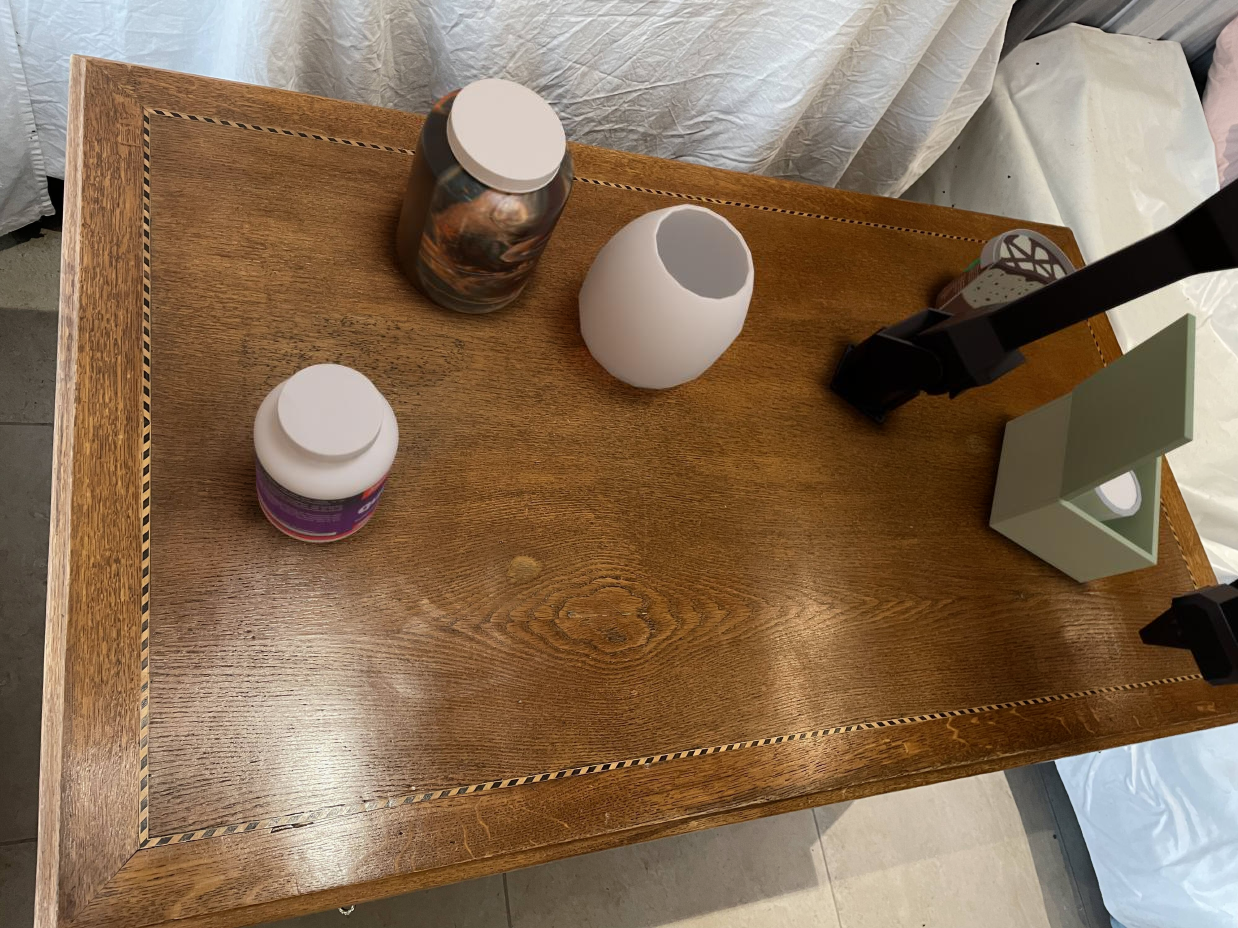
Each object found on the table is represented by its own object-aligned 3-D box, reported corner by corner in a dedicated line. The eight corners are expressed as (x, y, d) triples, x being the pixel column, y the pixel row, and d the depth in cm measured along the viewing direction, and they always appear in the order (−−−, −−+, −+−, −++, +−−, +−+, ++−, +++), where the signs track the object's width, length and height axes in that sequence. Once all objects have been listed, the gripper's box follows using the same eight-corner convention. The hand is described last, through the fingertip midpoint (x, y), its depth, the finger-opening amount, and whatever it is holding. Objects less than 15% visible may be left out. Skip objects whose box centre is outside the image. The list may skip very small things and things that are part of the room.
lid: (1196, 316, 67) (1188, 312, 67) (1193, 440, 60) (1184, 436, 60) (1079, 391, 78) (1072, 387, 78) (1066, 502, 72) (1059, 498, 72)
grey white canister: (1082, 491, 85) (1143, 469, 79) (1078, 545, 82) (1141, 527, 76) (1034, 461, 84) (1092, 437, 78) (1028, 515, 81) (1088, 495, 75)
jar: (365, 217, 64) (388, 78, 51) (483, 178, 70) (530, 44, 57) (444, 334, 63) (488, 222, 50) (556, 284, 69) (621, 173, 56)
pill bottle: (368, 554, 55) (396, 491, 43) (245, 537, 53) (235, 464, 40) (387, 448, 58) (417, 361, 46) (270, 427, 56) (269, 328, 43)
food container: (1004, 295, 93) (1078, 246, 85) (1010, 338, 91) (1087, 293, 82) (921, 263, 89) (990, 208, 81) (924, 308, 87) (996, 256, 78)
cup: (623, 431, 67) (696, 359, 55) (533, 307, 68) (587, 210, 56) (725, 366, 73) (809, 290, 62) (642, 254, 74) (710, 158, 63)
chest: (1091, 478, 88) (1162, 452, 81) (1080, 583, 81) (1157, 565, 74) (1006, 422, 86) (1071, 391, 79) (988, 525, 79) (1058, 501, 72)
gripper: (1394, 762, 45) (1137, 764, 58) (1519, 677, 53) (1268, 697, 67) (1300, 574, 48) (1075, 617, 61) (1432, 521, 56) (1208, 570, 69)
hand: (1162, 629), depth 65 cm, fingers open, 5 cm apart
